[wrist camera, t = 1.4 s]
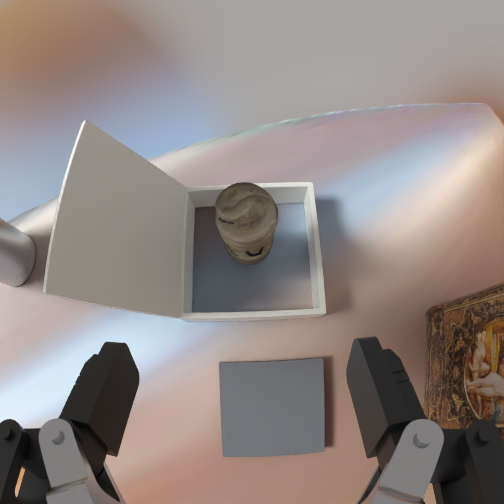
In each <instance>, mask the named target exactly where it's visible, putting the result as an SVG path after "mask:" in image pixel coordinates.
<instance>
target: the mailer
mask: <svg viewBox="0 0 504 504" xmlns="http://www.w3.org/2000/svg"><path fill="white" fill-rule="evenodd" d="M255 184H256V185H258V186H260V187H261V188H263V189H264V190H265V191H267V192H268V193H269V194H270V196H271V197H272V198H273V200H274V202H275V204H280V203H304V211H305V220H306V230H307V240H308V250H309V261H310V273H311V286H312V300H313V309H299V310H279V311H255V312H214V313H192V296H193V248H194V222H195V207H209V206H215V203H216V200H217V197H218V196H219V194H220V193H221V192H222V191H223V190H224V189H225V188H227V187H229V186H230V185H214V186H199V187H185V186H184V185H182V184H181V183H179V182H178V181H176V180H175V179H173V178H172V177H171V176H169V175H168V174H166V173H165V172H163V171H162V170H160V169H159V168H157V167H156V166H154V165H153V164H151V163H150V162H149V161H147V160H146V159H144V158H143V157H141V156H140V155H138V154H137V153H135V152H134V151H132V150H131V149H129V148H128V147H126V146H125V145H123V144H122V143H120V142H119V141H117V140H116V139H114V138H113V137H111V136H110V135H108V134H107V133H105V132H104V131H102V130H101V129H99V128H98V127H96V126H95V125H93V124H92V123H90V122H89V121H87V120H85V121H84V122H83V123H82V125H81V128H80V131H79V134H78V136H77V139H76V142H75V145H74V148H73V151H72V154H71V157H70V160H69V164H68V167H67V170H66V174H65V177H64V181H63V184H62V188H61V192H60V196H59V200H58V204H57V208H56V213H55V217H54V222H53V227H52V232H51V237H50V243H49V249H48V255H47V262H46V269H45V277H44V286H43V293H44V294H48V295H52V296H57V297H61V298H66V299H70V300H75V301H80V302H85V303H90V304H95V305H100V306H105V307H110V308H116V309H121V310H127V311H133V312H139V313H145V314H151V315H157V316H164V317H171V318H179V319H182V320H185V321H187V322H218V321H259V320H282V319H300V318H316V317H320V316H322V315H324V314H326V303H325V290H324V278H323V268H322V257H321V248H320V238H319V230H318V221H317V213H316V205H315V198H314V190H313V183H312V182H290V183H255ZM232 185H233V184H232Z"/></svg>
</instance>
